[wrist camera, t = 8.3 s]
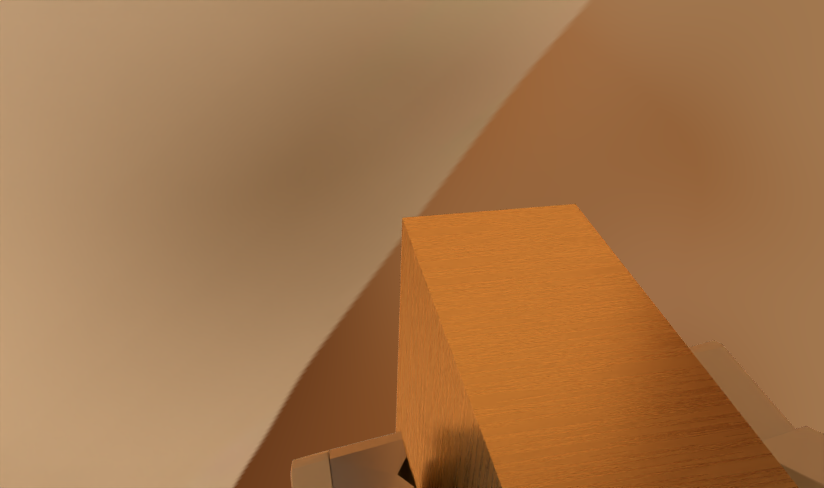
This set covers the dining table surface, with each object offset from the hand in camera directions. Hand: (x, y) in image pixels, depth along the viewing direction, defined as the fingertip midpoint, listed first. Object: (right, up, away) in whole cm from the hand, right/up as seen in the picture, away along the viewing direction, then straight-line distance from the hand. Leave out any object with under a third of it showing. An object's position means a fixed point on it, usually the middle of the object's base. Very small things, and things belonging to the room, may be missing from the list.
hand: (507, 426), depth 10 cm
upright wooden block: (0, +1, +1) cm, 2 cm away
